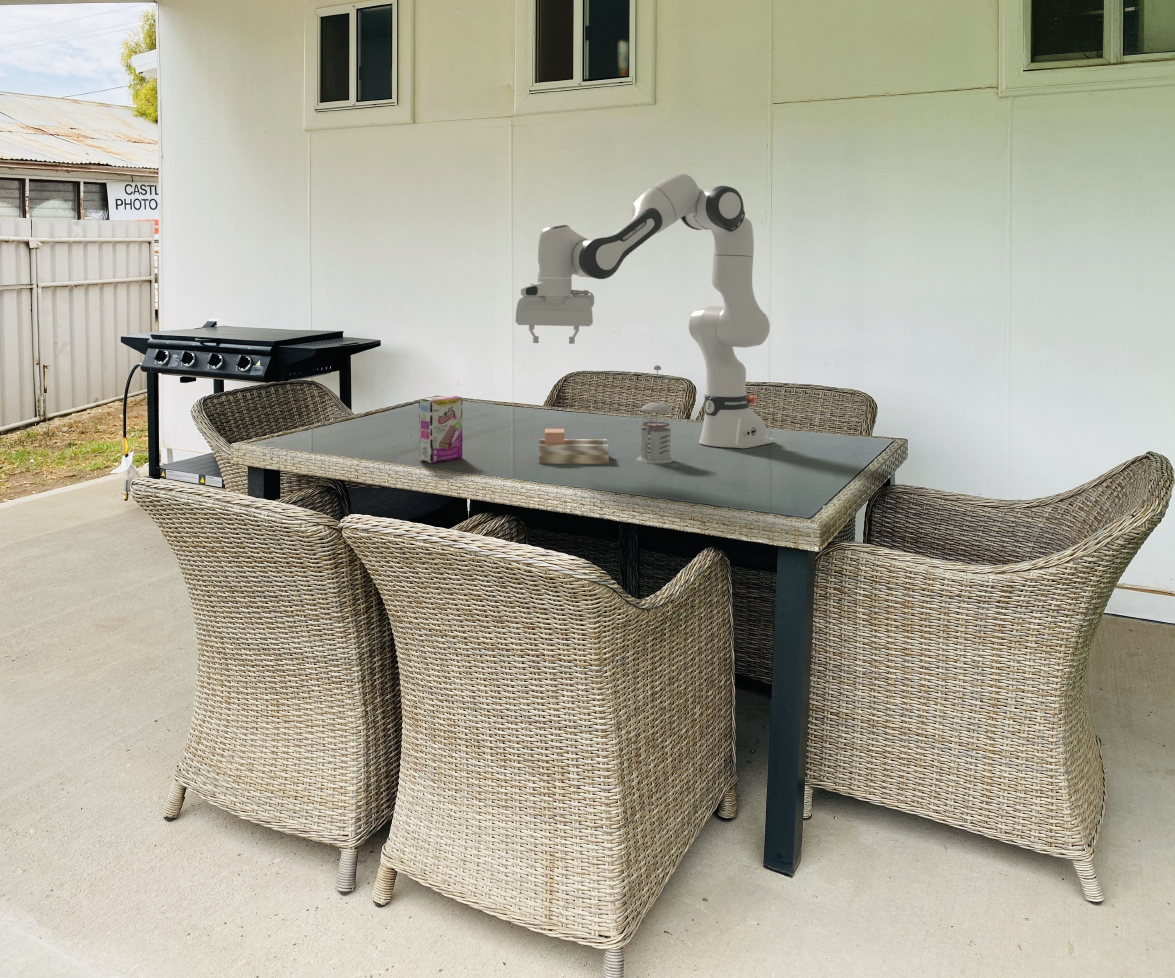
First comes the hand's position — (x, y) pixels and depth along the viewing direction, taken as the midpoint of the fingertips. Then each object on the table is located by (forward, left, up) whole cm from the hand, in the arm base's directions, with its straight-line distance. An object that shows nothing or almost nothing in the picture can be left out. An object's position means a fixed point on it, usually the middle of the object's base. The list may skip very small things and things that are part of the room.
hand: (553, 343), depth 256 cm
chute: (-2, +7, -30) cm, 31 cm away
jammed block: (+2, +4, -28) cm, 28 cm away
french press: (-19, +19, -30) cm, 41 cm away
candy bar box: (+28, -10, -30) cm, 42 cm away
